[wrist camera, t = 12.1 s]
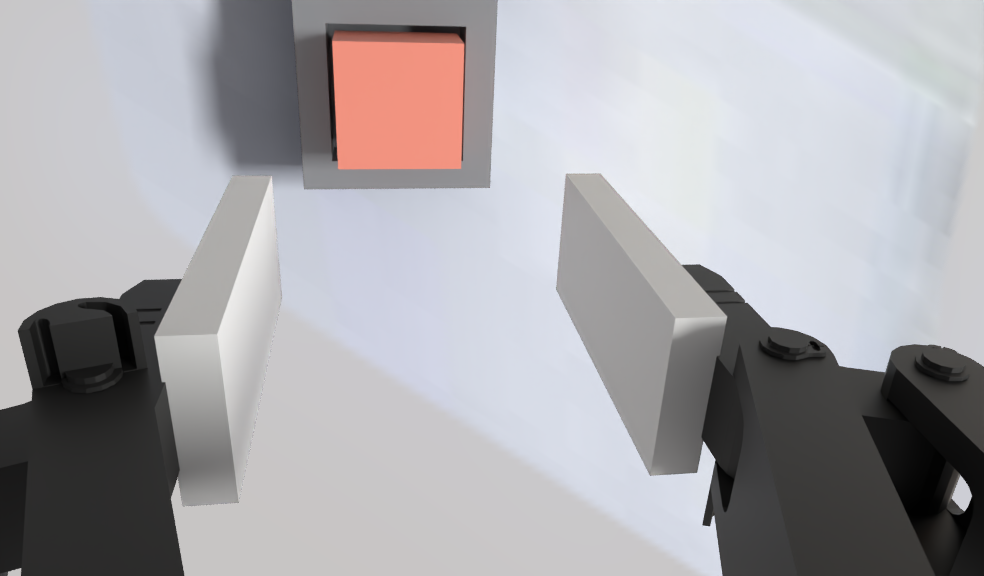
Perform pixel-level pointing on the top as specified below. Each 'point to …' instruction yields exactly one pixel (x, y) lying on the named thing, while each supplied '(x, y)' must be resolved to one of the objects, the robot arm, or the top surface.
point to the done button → (398, 99)
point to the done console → (392, 8)
